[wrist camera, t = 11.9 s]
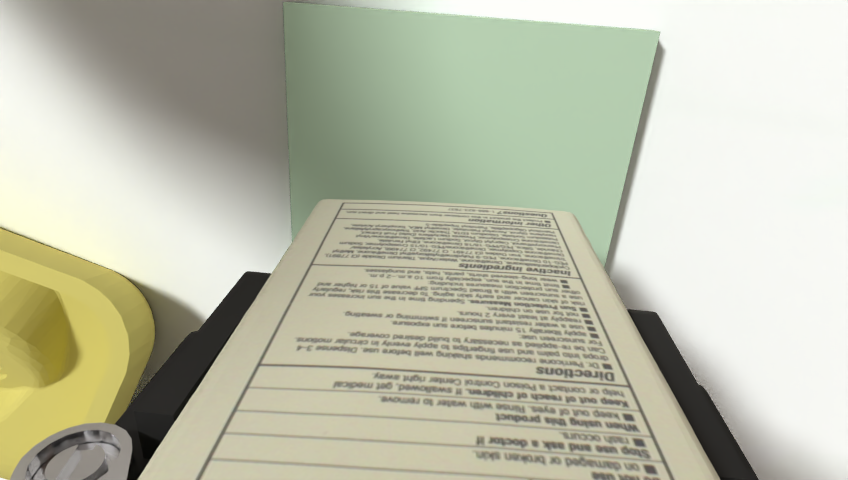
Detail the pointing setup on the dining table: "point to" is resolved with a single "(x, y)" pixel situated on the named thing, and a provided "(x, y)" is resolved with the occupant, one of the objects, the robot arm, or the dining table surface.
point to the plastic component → (64, 344)
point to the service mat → (462, 111)
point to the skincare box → (434, 360)
